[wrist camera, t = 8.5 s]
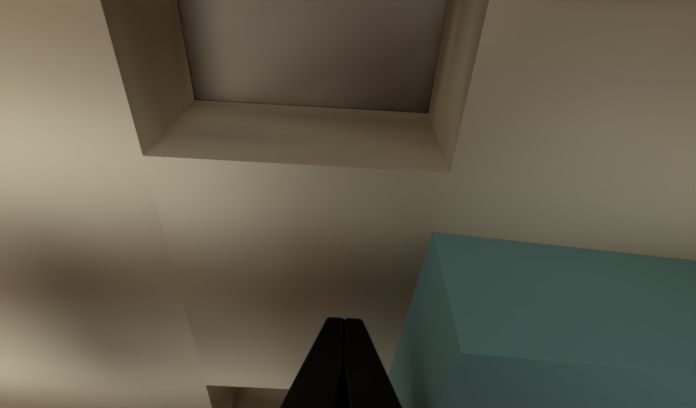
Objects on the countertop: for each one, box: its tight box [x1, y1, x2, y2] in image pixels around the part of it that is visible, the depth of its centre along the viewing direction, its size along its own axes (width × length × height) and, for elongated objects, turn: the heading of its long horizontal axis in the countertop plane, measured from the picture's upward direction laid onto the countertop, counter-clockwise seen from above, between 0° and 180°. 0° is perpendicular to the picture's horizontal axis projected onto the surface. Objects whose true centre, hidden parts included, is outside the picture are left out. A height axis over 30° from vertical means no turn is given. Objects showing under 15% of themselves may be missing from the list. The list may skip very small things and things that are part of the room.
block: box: [388, 232, 696, 408], centre depth 9 cm, size 6×6×3 cm
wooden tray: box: [0, 0, 696, 408], centre depth 10 cm, size 18×22×6 cm
